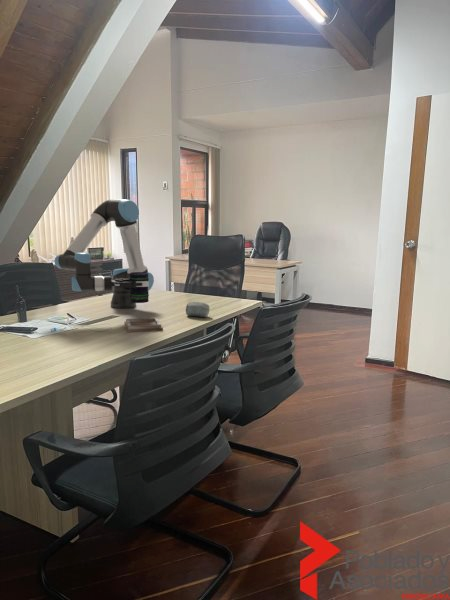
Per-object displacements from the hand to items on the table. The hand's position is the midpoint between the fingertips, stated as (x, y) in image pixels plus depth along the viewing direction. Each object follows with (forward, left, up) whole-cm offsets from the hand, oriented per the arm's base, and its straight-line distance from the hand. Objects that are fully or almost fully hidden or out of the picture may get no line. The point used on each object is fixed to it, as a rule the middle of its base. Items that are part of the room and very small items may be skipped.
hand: (147, 282), depth 226 cm
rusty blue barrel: (0, -4, -10) cm, 11 cm away
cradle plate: (+17, -4, -20) cm, 27 cm away
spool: (-1, +28, -20) cm, 34 cm away
